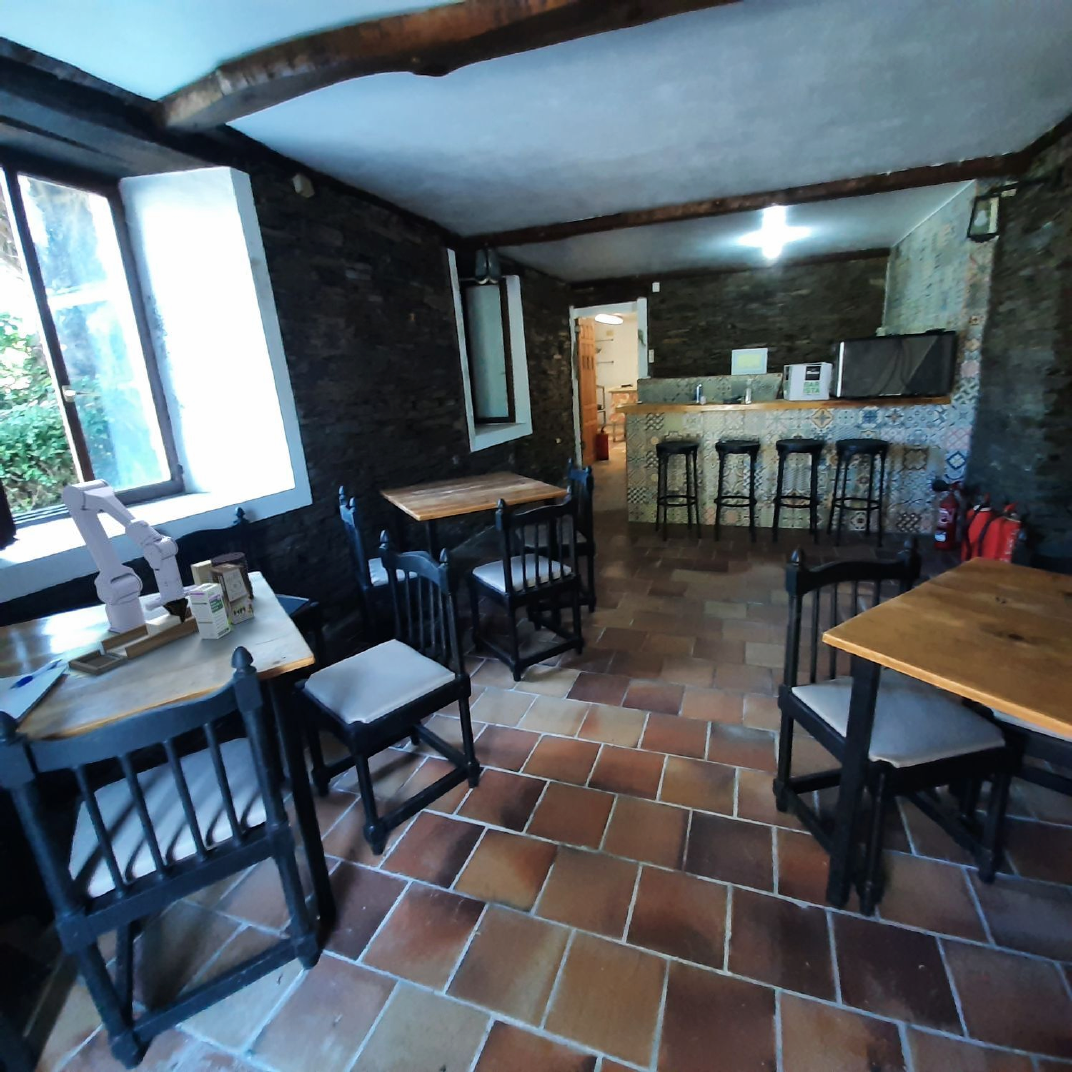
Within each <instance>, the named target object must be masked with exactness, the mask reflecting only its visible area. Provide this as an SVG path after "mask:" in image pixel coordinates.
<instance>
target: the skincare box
mask: <svg viewBox="0 0 1072 1072" xmlns="http://www.w3.org/2000/svg"><path fill="white" fill-rule="evenodd" d="M190 568H191V572H192V577H193V581H194V585H196V586H201V585H202V584H207V583H210V582H209V578H208V574H207V570H208V569H211V568H212V563H211V559H209V560H208V559H207V560H205V561H200V562H198V563H194V564H190Z"/></svg>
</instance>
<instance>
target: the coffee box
mask: <svg viewBox="0 0 1072 1072" xmlns="http://www.w3.org/2000/svg"><path fill="white" fill-rule="evenodd" d="M207 574H208V578H209V582H210V583H218V584H221V588H222V591H223V595H224V599H225V603H226V606H227V610H228V614H229V618H230V621H231V624H234V625H236V624H239V623H242V622H244V621H246V620H249V619H251V618H254V617H255V612H254V608H253V605H252V604H253V603H252V600H251V599H250V595H249V591H248V586H247V582H246V578H245V573H244V569H243V566H239V565H234V564H228V563H225V564H222V565H219V566H216V567H214V568H211V569H208V570H207Z"/></svg>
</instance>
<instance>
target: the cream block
mask: <svg viewBox="0 0 1072 1072" xmlns="http://www.w3.org/2000/svg"><path fill="white" fill-rule="evenodd" d="M169 614H170V613H166V614H165V613H164V615H160V616H158V617H156V618H154V619H151V620H149V621H148V622H145V624H146V628H147V631H148V634H149V636H152V635H154V634H157V633H159V632H161V631H164V630H166V629H169V628H171V627H173V626H176V625H178V624H180V623H181V621H180V617H179V616H174V615H169Z"/></svg>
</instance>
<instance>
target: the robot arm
mask: <svg viewBox="0 0 1072 1072" xmlns="http://www.w3.org/2000/svg"><path fill="white" fill-rule="evenodd" d="M60 497H61V498H60V499H61V500H62V501H63V503H64V505H65V507H66V509H67V511H68V513H69V516H71V518H72V520H73V522H74V524H75V525H76V527H77V530H78V531H79V533H80V536H81V538H82V539H83V541H84V543H85V546H86V547H87V549H88V551H89V552H90V555H91V556H92V559H93V560H94V563H95V565H96V566H97V569H98V570H99V574H98V575H97V577H96V578H95V580H94V585H95V586H96V593H97V594H96V595H97V597H98V598H99V599H100V601H101V602H103V603H105V606H104V607H105V608H104V611H105V614H106V617H107V621H108V624H109V627H107V628H106V629H107V631H110V632H111V631H112V632H116V633H118V634H120V633H122V632H125V631H127V630H130V629H132V628H135V627H137V626H140V625H142V624H145V622H148V621H150V620H148V619H146V618H145V617H146V616H145V614H144V610H143V606H142V604H141V603H142V602H141V600H140V597H139V596H140V595H141V591H142V589H143V581H142V579H141V578H140V576H138V575H137V574H136V573H135V571H134V569H133V568H131V567H129V566H127V565H123V564H122V562H121V560H120V558H119V556H118V554H117V552H116V550H115V548H114V546H113V544H112V542H111V540H110V538H109V536H108V534H107V533H106V530H105V528H104V527H103V524H102V523H101V520H100V518H99V516H98V514H99V512H100V510H102V511H103V512H105V513H106V514H107V515H108V516H110V517H111V518H113V520H115V521H117V522H118V524H121V525H122V526H123V527H124V534H125V535H126V536H128V538H130V539H131V540H132V541H133V542H134V543H135V544H136V545H137V546H139V547H140V549H142V550H143V552H142V555H143V557H144V559H145V560H146V561H147V562H148V564H149V566H150V568H151V569H153V573H154V576H155V577H154V578H155V581H156V584H157V588H158V591H159V592H158V593H159V594H160V596H158V597H157V598H155V599H153V600H151V601H149V602H147V603H144V607H145V610H146V611H148V612H152V611H154V610H155V609H158V608H161V607H162V608H164V609H165V610H166V611H167V612H168V614H171V615H174V616H179V617H180V621H181V623H183V622H185V612H186V608H187V606H189V598H187V597H188V596H189V593H188V592H189V591H190V590H193V589H195V588H197V587H199V586H196V585H195V584H194V585H192V586H189V587H184V585H183V582H182V579H181V574H180V571H179V566H178V563H177V560H176V559H177V558H176V555H177V553H178V552H179V547H178V544H177V542H176V541H175V540H174V539H173V538H172V537H170V536H165V535H164V534H160V533H159V532H158V531H157V530H155V528H153V527H152V526H151V525H150V524H149V523H148V522H147V521H146V520H144V519H137V518H136V517H135V516H134V515H133V514H132V513H131V512H130V511H129V510H128V509H127V508H126V507H125V505H124V504H123V503H122V502H121V501H120V500H119V499H118V498H117V497H116V492H115V488H114V487H112V486H111V485H110V484H109V483H108V482H107V481H106V480H104V479H101V478H97V479H95V480H90V481H85V482H81V483H75V484H68V485H67V484H66V486H64V488H63V489H62V492H61V496H60Z"/></svg>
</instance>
